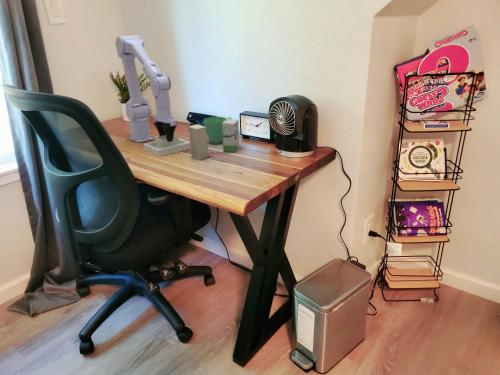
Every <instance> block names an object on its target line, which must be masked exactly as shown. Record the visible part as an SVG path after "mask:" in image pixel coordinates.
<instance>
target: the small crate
mask: <svg viewBox="0 0 500 375" xmlns="http://www.w3.org/2000/svg"><path fill="white" fill-rule="evenodd" d="M178 138H179V135H177V134H174V135H173V141H171V142H168V141H167V138H166V135H163V136H155V137H154V142H155V143H156V146H158V147H160V148H164V147H168V146H173V145H177V144H179V140H178Z"/></svg>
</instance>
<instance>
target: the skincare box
mask: <svg viewBox="0 0 500 375" xmlns="http://www.w3.org/2000/svg"><path fill="white" fill-rule="evenodd" d="M188 132H189V142H190V143H191V148H190V149H191V150H190V151H191V156H192V157H193V158H195V159H197V160H199V161H200V160H204V159H206V158H209V148H208V146H209V145H208V135H207V132H206V127H205V125H201V124H194V125H188Z"/></svg>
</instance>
